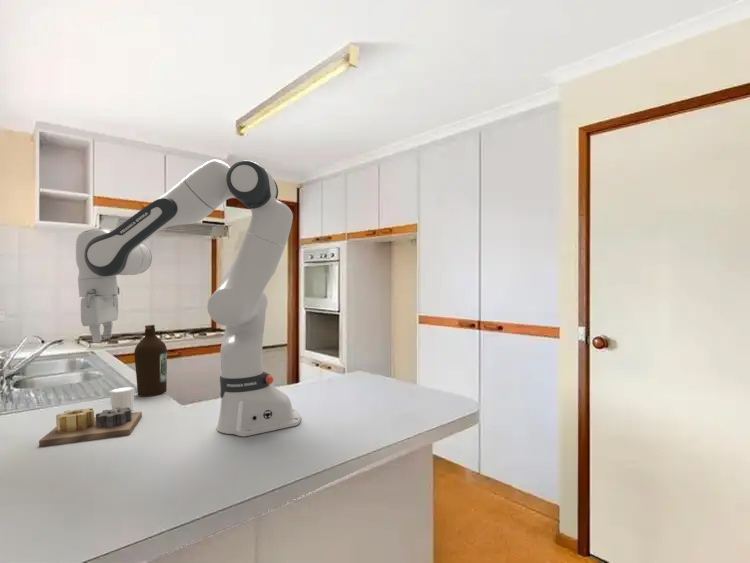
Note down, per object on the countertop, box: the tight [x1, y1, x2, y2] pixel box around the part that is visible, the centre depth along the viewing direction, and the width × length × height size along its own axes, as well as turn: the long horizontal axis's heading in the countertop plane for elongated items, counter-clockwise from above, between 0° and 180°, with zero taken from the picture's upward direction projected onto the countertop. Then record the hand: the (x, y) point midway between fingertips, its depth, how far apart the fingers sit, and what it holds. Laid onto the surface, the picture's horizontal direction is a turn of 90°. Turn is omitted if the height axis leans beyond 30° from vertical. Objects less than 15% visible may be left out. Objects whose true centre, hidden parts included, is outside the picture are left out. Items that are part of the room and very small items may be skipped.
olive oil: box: [133, 324, 168, 397], centre depth 154 cm, size 11×11×25 cm
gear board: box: [38, 407, 143, 448], centre depth 116 cm, size 20×16×5 cm
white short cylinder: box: [108, 386, 135, 412], centre depth 133 cm, size 7×7×7 cm
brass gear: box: [55, 407, 95, 433], centre depth 114 cm, size 8×7×4 cm
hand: (102, 340), depth 114 cm, fingers open, 8 cm apart
